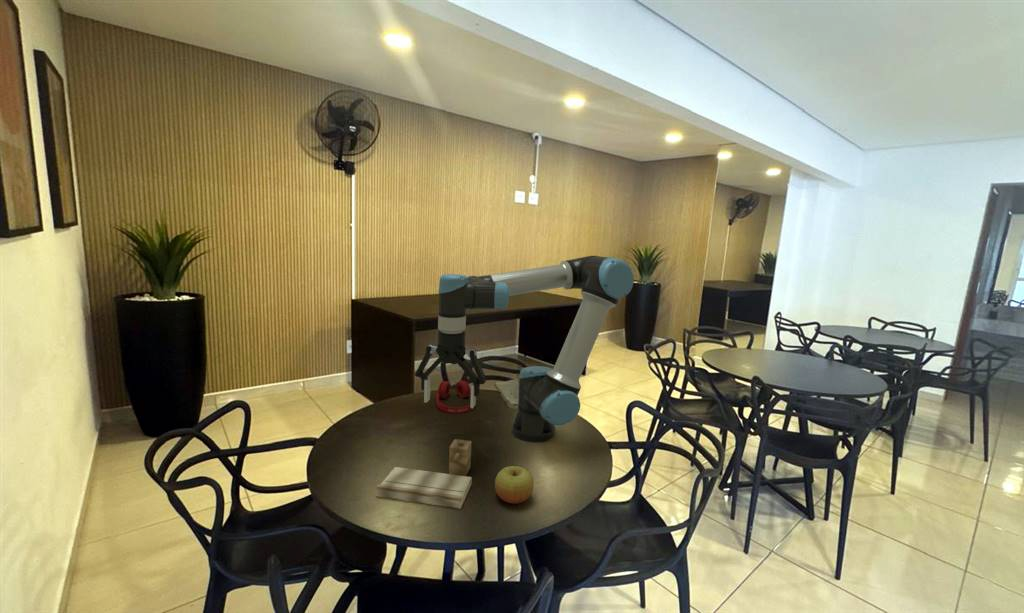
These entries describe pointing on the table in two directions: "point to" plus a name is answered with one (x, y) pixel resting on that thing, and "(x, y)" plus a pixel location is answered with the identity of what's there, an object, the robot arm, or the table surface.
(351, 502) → the table surface
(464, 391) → the headphones
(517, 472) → the apple
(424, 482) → the board
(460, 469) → the beige wooden block
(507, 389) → the stone slab
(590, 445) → the table surface
